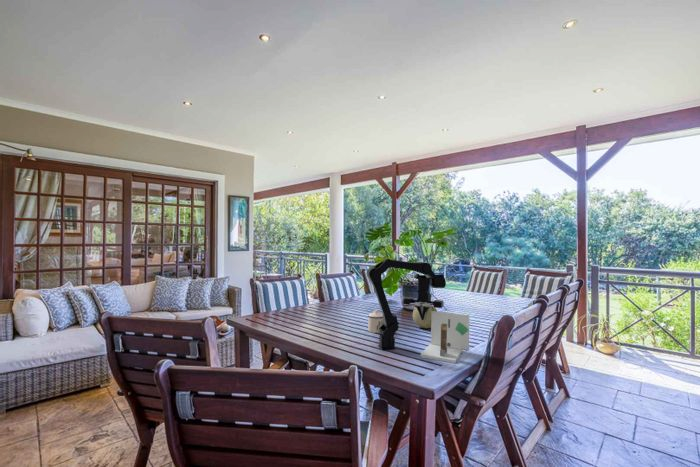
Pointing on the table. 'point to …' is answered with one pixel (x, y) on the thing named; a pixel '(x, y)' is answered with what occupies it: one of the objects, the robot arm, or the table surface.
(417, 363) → the table surface
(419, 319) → the cantaloupe
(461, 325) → the gauge base
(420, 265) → the robot arm
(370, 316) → the teacup with lid
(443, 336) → the lever
